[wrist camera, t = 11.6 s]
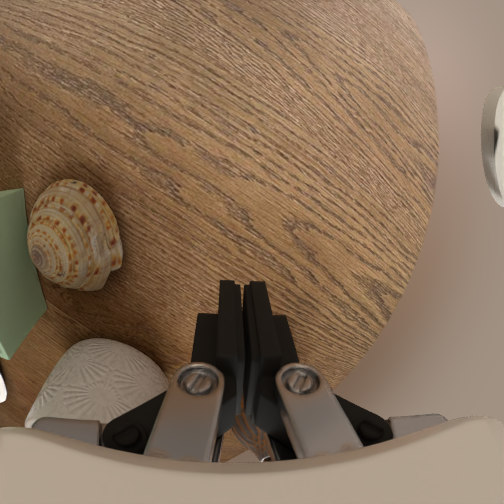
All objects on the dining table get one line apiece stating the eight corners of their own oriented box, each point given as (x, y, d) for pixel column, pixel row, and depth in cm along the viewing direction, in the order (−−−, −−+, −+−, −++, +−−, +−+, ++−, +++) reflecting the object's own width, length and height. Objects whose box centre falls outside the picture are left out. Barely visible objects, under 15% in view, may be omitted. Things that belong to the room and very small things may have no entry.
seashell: (119, 310, 18) (19, 304, 14) (114, 270, 22) (32, 264, 18) (134, 200, 15) (13, 188, 11) (128, 179, 19) (36, 169, 15)
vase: (307, 382, 26) (330, 450, 18) (257, 411, 27) (268, 477, 19) (265, 352, 24) (283, 434, 16) (212, 387, 25) (215, 463, 17)
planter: (196, 354, 23) (192, 464, 13) (162, 417, 27) (155, 497, 17) (69, 301, 20) (10, 392, 10) (65, 379, 23) (36, 453, 13)
